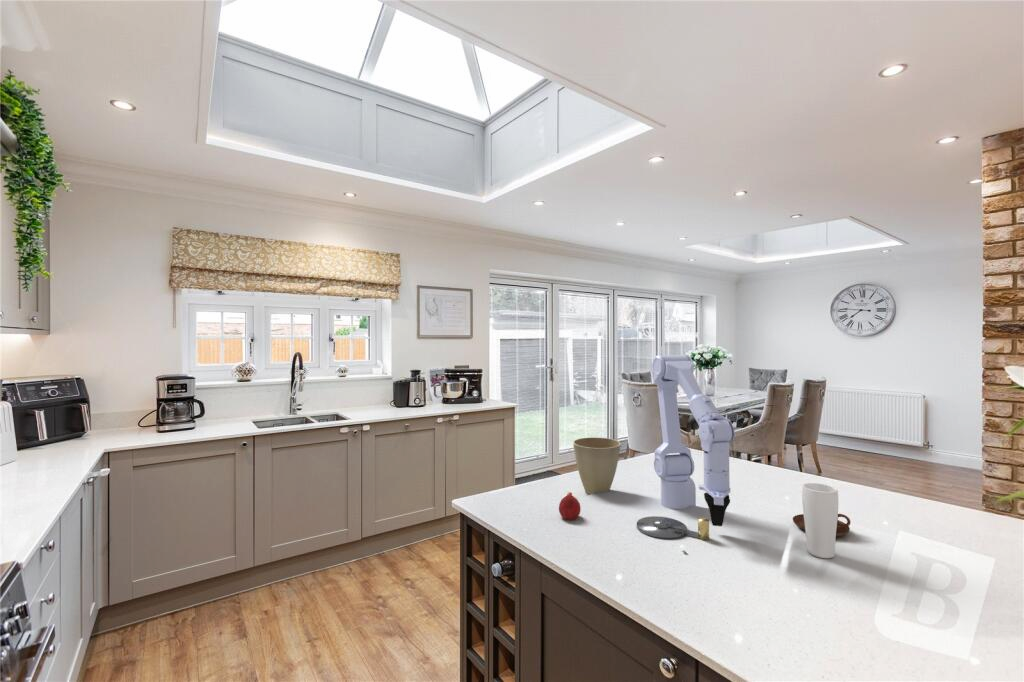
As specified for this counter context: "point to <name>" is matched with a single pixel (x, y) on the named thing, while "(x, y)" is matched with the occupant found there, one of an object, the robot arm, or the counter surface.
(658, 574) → the counter surface
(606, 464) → the plant pot
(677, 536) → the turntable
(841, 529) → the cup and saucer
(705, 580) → the counter surface
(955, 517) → the counter surface
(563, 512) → the onion
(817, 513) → the drinking glass
